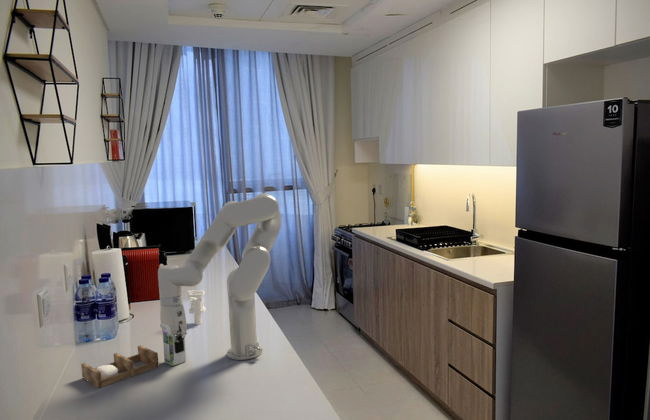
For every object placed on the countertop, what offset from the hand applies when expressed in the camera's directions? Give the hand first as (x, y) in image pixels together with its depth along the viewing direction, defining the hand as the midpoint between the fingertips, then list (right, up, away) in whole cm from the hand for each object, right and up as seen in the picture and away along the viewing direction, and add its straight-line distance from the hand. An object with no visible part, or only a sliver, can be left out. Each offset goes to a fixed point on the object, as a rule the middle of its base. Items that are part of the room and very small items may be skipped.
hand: (174, 349), depth 182 cm
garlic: (-20, -7, -10) cm, 23 cm away
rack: (-15, -6, -6) cm, 18 cm away
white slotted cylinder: (-2, 0, +43) cm, 43 cm away
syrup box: (0, -5, +1) cm, 5 cm away
